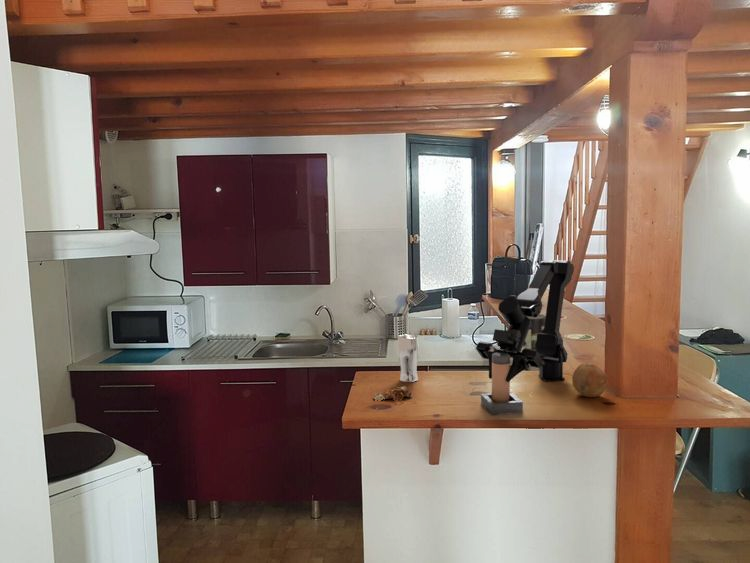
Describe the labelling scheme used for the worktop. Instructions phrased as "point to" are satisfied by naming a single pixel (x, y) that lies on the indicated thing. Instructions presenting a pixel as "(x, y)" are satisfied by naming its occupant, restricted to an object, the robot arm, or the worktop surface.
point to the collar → (502, 405)
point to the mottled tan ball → (589, 380)
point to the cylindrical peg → (500, 377)
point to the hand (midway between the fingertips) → (498, 379)
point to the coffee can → (534, 331)
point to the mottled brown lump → (395, 393)
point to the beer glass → (408, 357)
